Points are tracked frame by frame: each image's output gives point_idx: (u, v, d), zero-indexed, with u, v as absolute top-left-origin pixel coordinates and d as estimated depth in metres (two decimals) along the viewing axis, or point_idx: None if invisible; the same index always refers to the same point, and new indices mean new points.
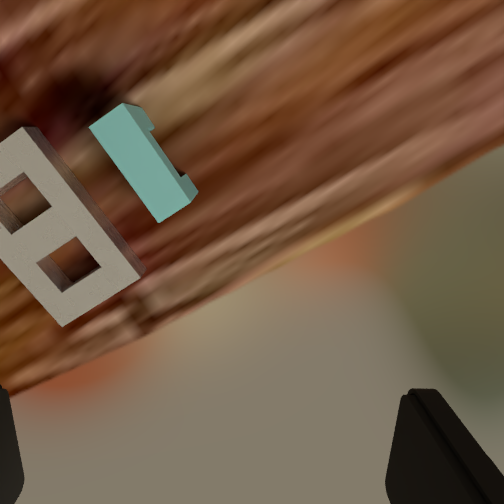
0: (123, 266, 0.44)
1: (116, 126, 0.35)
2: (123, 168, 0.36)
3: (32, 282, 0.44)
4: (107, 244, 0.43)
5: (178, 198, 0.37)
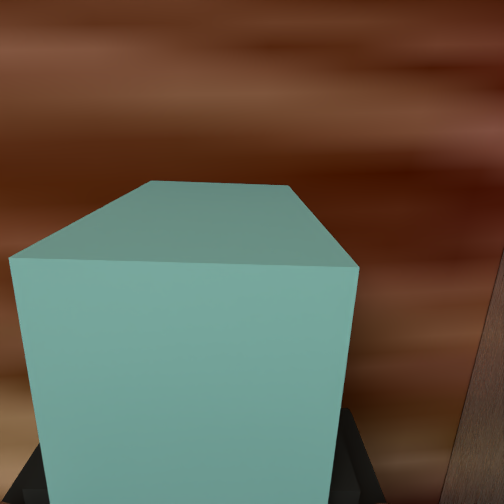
0: None
1: None
2: None
3: None
4: None
5: (89, 336, 0.05)
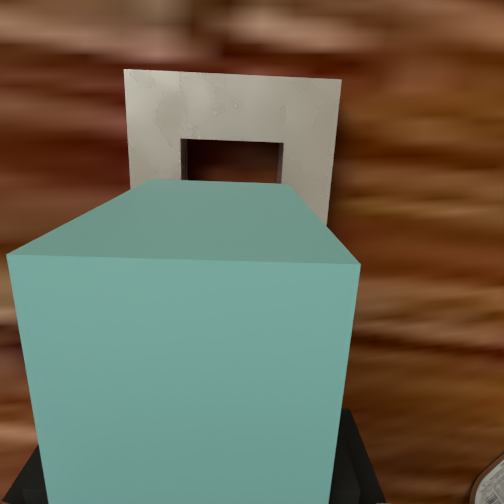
0: (140, 112, 0.21)
1: None
2: None
3: (313, 192, 0.23)
4: (141, 168, 0.22)
5: (88, 333, 0.04)
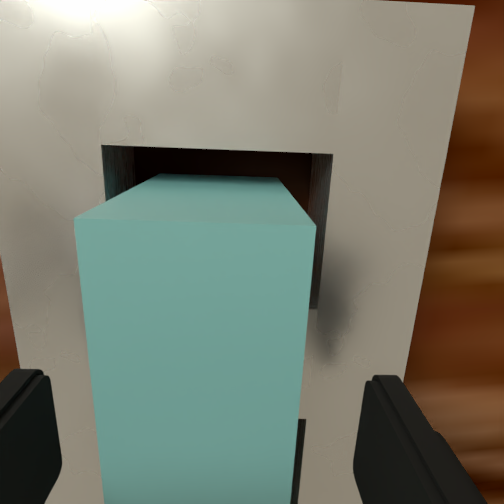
0: (4, 85, 0.09)
1: None
2: (272, 503, 0.08)
3: (391, 259, 0.11)
4: (18, 211, 0.10)
5: (127, 275, 0.06)
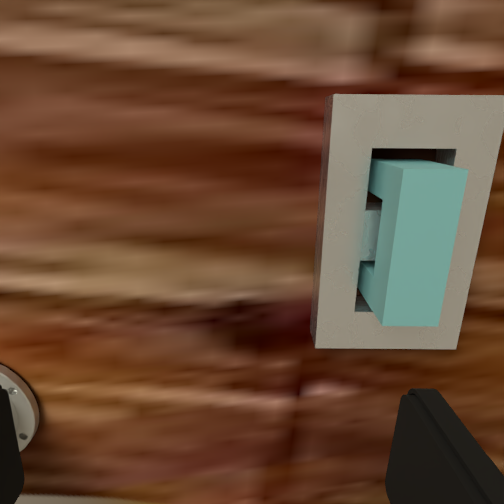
0: (342, 128, 0.26)
1: (409, 309, 0.26)
2: (444, 264, 0.25)
3: (476, 189, 0.27)
4: (337, 173, 0.27)
5: (414, 185, 0.23)
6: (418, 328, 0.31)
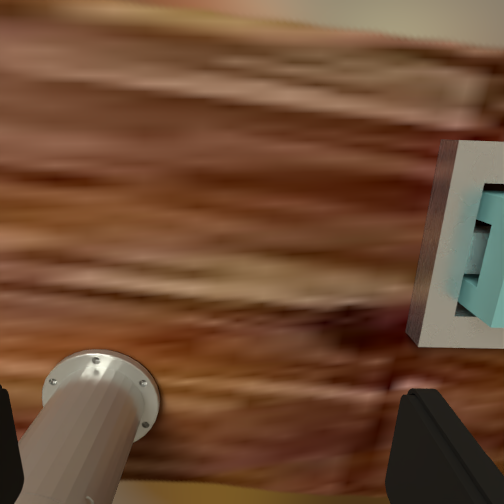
0: (463, 167, 0.32)
1: None
2: None
3: None
4: (454, 202, 0.33)
5: None
6: None
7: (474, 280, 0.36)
